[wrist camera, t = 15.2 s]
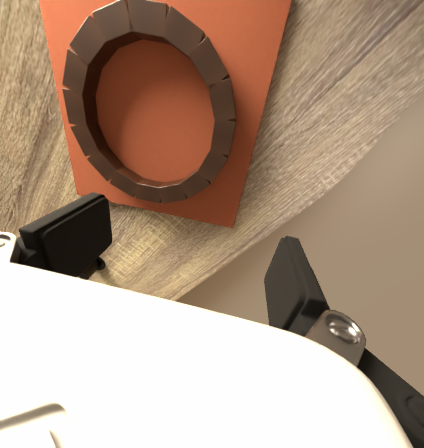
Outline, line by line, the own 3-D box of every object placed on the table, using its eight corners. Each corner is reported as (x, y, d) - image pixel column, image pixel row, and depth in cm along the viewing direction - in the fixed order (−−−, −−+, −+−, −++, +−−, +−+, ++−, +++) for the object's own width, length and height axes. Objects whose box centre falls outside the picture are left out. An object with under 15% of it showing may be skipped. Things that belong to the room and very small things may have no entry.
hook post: (104, 257, 39) (90, 271, 36) (106, 270, 41) (93, 285, 38) (87, 253, 40) (72, 267, 36) (89, 267, 41) (75, 281, 38)
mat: (292, -5, 19) (293, -8, 18) (233, 226, 32) (232, 228, 31) (33, -49, 20) (28, -52, 19) (79, 193, 33) (77, 194, 32)
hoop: (255, 28, 20) (257, 18, 18) (218, 208, 30) (217, 216, 28) (62, -6, 21) (42, -19, 19) (91, 181, 31) (80, 186, 29)
